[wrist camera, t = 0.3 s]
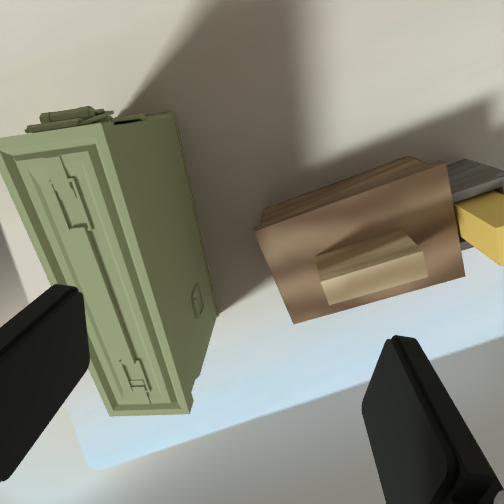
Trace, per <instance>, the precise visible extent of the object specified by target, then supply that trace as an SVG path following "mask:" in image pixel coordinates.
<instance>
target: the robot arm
mask: <svg viewBox="0 0 504 504" xmlns="http://www.w3.org/2000/svg"><path fill="white" fill-rule="evenodd" d="M89 363H90V353H89V343H88V334H87V325H86V315H85V306H84V297H83V294H82V293H81V292H79V290H78V288H77V287H75V286H69V285H62V284H55V285H53V286H51V287H50V288H49V289H48V290H46V291H45V292H44V293H43V294H41V295H40V296H39V297H38V298H37V299H35V300H34V301H33V302H32V303H30V304H29V305H28V306H27V307H25V308H24V309H23V310H22V311H20V312H19V313H18V314H17V315H16V316H14V317H13V318H12V319H10V320H9V321H8V322H7V323H6V324H4V325H3V326H2V327H1V328H0V482H1V481H5V480H7V479H8V478H9V477H10V476H11V475H12V473H13V472H14V471H15V470H16V468H17V467H18V465H19V464H20V463H21V461H22V460H23V458H24V457H25V456H26V454H27V453H28V451H29V450H30V449H31V447H32V446H33V445H34V443H35V442H36V440H37V439H38V438H39V436H40V435H41V433H42V432H43V431H44V429H45V428H46V426H47V425H48V424H49V422H50V421H51V419H52V418H53V417H54V415H55V414H56V413H57V411H58V410H59V408H60V407H61V406H62V404H63V403H64V401H65V400H66V399H67V397H68V396H69V394H70V393H71V392H72V390H73V389H74V387H75V386H76V385H77V383H78V382H79V381H80V379H81V378H82V376H83V375H84V374H85V372H86V371H87V369H88V367H89ZM362 415H363V418H364V422H365V426H366V429H367V433H368V437H369V440H370V444H371V448H372V452H373V456H374V459H375V463H376V466H377V470H378V474H379V478H380V482H381V485H382V489H383V493H384V496H385V500H386V504H504V489H503V487H502V485H501V484H500V482H499V480H498V478H497V476H496V475H495V473H494V471H493V469H492V468H491V466H490V465H489V463H488V461H487V459H486V457H485V456H484V454H483V452H482V451H481V449H480V447H479V445H478V444H477V442H476V440H475V439H474V437H473V435H472V434H471V432H470V430H469V428H468V427H467V425H466V423H465V422H464V420H463V418H462V416H461V415H460V413H459V411H458V410H457V408H456V406H455V405H454V403H453V401H452V399H451V398H450V396H449V394H448V392H447V391H446V389H445V387H444V386H443V384H442V382H441V380H440V379H439V377H438V375H437V374H436V372H435V371H434V369H433V367H432V365H431V363H430V362H429V360H428V358H427V356H426V355H425V353H424V351H423V350H422V348H421V346H420V344H419V343H418V341H417V340H416V339H415V338H411V337H404V336H398V335H395V336H393V337H392V339H387V340H386V342H385V344H384V347H383V349H382V352H381V354H380V357H379V360H378V362H377V365H376V367H375V370H374V372H373V375H372V378H371V380H370V383H369V385H368V388H367V391H366V393H365V396H364V399H363V401H362Z"/></svg>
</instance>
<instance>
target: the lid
mask: <svg viewBox="0 0 504 504" xmlns="http://www.w3.org/2000/svg"><path fill="white" fill-rule="evenodd" d="M494 189H497V192H498V193H501V194H503V195H504V172H502V173H499V174H496V175H493V176H490V177H488V178H485V179H482V180H479V181H476V182H473V183H470V184H467V185H464V186H461V187H458V188H455V189H452V190H451V189H450V183H449V177H448V172H447V166H446V163H445V162H442V161H439V162H436V163H434V164H431V165H428V166H425V167H422V168H420V169H417V170H414V171H411V172H408V173H406V174H403V175H400V176H397V177H395V178H392V179H389V180H386V181H383V182H381V183H378V184H375V185H372V186H370V187H367V188H364V189H361V190H358V191H356V192H353V193H350V194H347V195H345V196H342V197H339V198H336V199H333V200H331V201H328V202H325V203H322V204H320V205H317V206H314V207H311V208H308V209H306V210H303V211H300V212H297V213H295V214H292V215H289V216H286V217H283V218H281V219H278V220H275V221H272V222H269V223H267V224H264V225H261V226H258V227H256V228H254V234H255V236H256V238H257V241H258V243H259V245H260V248H261V250H262V252H263V255H264V257H265V259H266V261H267V264H268V266H269V268H270V271H271V273H272V275H273V278H274V280H275V282H276V285H277V287H278V289H279V292H280V294H281V296H282V298H283V301H284V303H285V305H286V308H287V310H288V312H289V315H290V317H291V319H292V322H293V324H297V323H300V322H304V321H307V320H311V319H315V318H318V317H322V316H325V315H329V314H332V313H336V312H340V311H343V310H347V309H350V308H354V307H357V306H361V305H365V304H368V303H372V302H375V301H379V300H382V299H386V298H390V297H393V296H397V295H400V294H404V293H407V292H411V291H415V290H418V289H422V288H425V287H429V286H432V285H436V284H440V283H443V282H447V281H450V280H454V279H457V278H461V277H465V271H464V265H463V259H462V253H461V251H462V250H466V249H469V248H472V247H474V246H473V245H471V244H470V243H469V242H467V241H466V240H465V239H463V238H462V237H460V238H459V236H458V230H457V224H456V218H455V213H454V207H453V203H454V202H457V201H460V200H463V199H466V198H469V197H472V196H475V195H478V194H481V193H485V192H488V191H491V190H494Z"/></svg>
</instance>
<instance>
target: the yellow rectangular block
mask: <svg viewBox="0 0 504 504" xmlns="http://www.w3.org/2000/svg"><path fill="white" fill-rule="evenodd" d="M453 207H454V213H455V218H456V224H457V230H458V235H459V236H461V237H462V238H463V239H465V240H466V241H467V242H469V243H470V244H471V245H473V246H474V247H475V248H477V249H478V250H479V251H481V252H482V253H483V254H485V255H486V256H487V257H489V258H490V259H491V260H493V261H494V262H495V263H497V264H498V265H499V266H503V265H504V195H503V194H501V193H498V192H496V191H493V190H491V191H488V192H485V193H481V194H478V195H475V196H472V197H469V198H466V199H463V200H460V201H457V202H454V203H453Z"/></svg>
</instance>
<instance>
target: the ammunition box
mask: <svg viewBox="0 0 504 504" xmlns="http://www.w3.org/2000/svg"><path fill="white" fill-rule="evenodd" d="M111 114H114V112H113V111H104V110H103V109H98V110H95V109H93V108H92V107H90V106H86V107H79V108H77V109H71V110H64V111H58V112H48V113H42V114H41V115H40V121H41V124H36V125H30V126H27V129H25V132H26V133H30V134H24V135H17V136H10V137H4V138H0V173H1V175H2V177H3V179H4V182H5V184H6V186H7V188H8V191H9V193H10V195H11V197H12V200H13V202H14V204H15V206H16V208H17V211H18V213H19V215H20V217H21V220H22V222H23V224H24V226H25V229H26V231H27V233H28V235H29V237H30V240H31V242H32V244H33V246H34V249H35V251H36V253H37V255H38V258H39V260H40V262H41V264H42V266H43V269H44V271H45V273H46V275H47V278H48V280H49V282H50V284H51V286H53V285H55V284H62V285H69V286H75V287H77V288H78V290H79V292H81V293H82V294H83V297H84V306H85V315H86V325H87V334H88V343H89V353H90V363H89V367H88V369H89V371H90V373H91V376H92V378H93V380H94V382H95V385H96V387H97V389H98V391H99V394H100V396H101V398H102V400H103V402H104V405H105V407H106V409H107V411H108V414H109V416H139V415H173V414H190V411H191V407H192V404H193V398H192V394H191V391H192V388H193V385H194V381H195V379H196V378H197V377H198V376H199V375H200V372H201V368H202V365H203V361H204V358H205V355H206V351H207V348H208V344H209V341H210V337H211V334H212V331H213V327H214V324H215V320H216V318H217V317H218V313H217V308H216V304H215V299H214V294H213V289H212V285H211V280H210V275H209V271H208V266H207V261H206V257H205V252H204V247H203V243H202V238H201V233H200V229H199V224H198V219H197V215H196V210H195V205H194V201H193V196H192V191H191V186H190V182H189V177H188V172H187V168H186V163H185V158H184V154H183V149H182V144H181V140H180V135H179V130H178V126H177V121H176V116H175V114H174V113H173V112H172V111H171V112H164V113H157V114H151V115H145V114H144V113H141V114H135V115H128V116H122V117H115V118H112V117H111V116H108V115H111ZM31 132H32V133H31Z"/></svg>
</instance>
